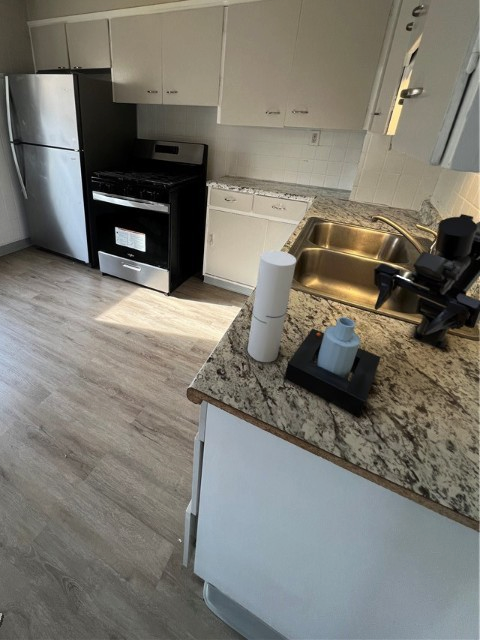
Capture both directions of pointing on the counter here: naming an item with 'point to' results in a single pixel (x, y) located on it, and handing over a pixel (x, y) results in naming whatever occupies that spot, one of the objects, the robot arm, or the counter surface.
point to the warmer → (332, 375)
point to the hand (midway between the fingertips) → (398, 320)
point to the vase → (339, 347)
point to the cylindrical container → (270, 304)
